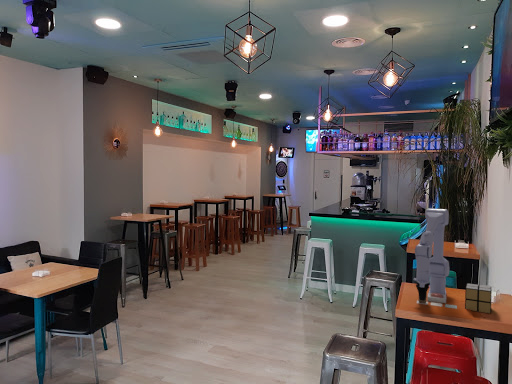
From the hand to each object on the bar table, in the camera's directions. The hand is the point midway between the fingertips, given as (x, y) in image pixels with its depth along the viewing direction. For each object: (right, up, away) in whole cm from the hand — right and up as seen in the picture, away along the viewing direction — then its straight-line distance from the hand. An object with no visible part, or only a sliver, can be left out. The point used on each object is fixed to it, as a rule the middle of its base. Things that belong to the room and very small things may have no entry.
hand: (422, 299), depth 182 cm
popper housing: (+9, -2, +5) cm, 10 cm away
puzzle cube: (+22, -3, -7) cm, 23 cm away
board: (+5, -2, -3) cm, 6 cm away
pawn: (0, -1, 0) cm, 1 cm away
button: (+9, -2, +5) cm, 10 cm away
